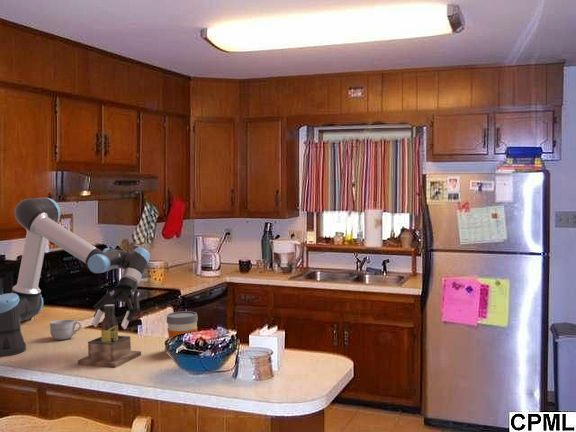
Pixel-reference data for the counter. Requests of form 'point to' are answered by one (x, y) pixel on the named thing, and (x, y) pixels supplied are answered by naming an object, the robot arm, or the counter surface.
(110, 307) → the sauce bottle
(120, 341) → the box on a tray
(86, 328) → the counter surface
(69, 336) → the teacup
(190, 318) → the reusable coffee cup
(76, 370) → the counter surface
